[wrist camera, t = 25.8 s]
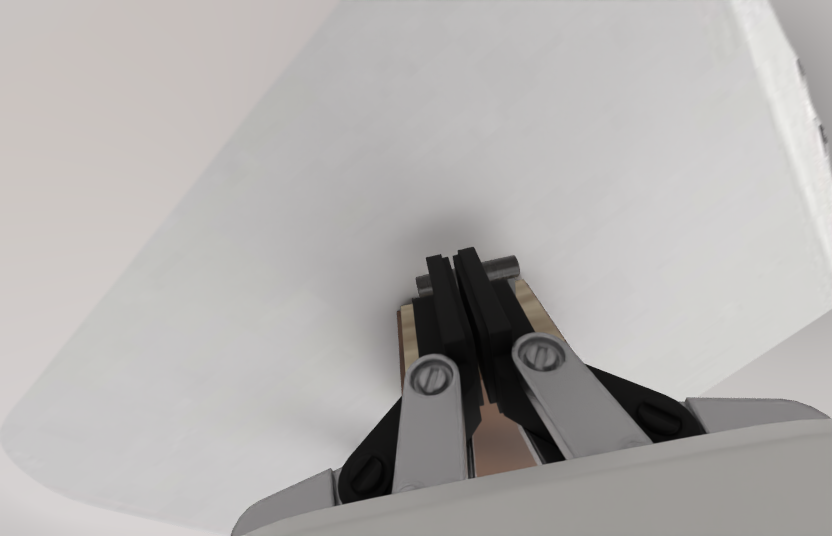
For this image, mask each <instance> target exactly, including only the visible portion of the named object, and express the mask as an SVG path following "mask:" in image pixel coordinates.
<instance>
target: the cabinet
mask: <svg viewBox="0 0 832 536" xmlns="http://www.w3.org/2000/svg"><path fill="white" fill-rule="evenodd" d="M526 284H527V283H526ZM527 285H528V284H527ZM528 287H529V286H528ZM529 288H530V287H529ZM530 290H531V288H530ZM531 291H532V290H531ZM532 292H533V291H532ZM533 294H534V293H533ZM534 295H535V294H534ZM535 297H536V296H535ZM536 298H537V297H536ZM537 300H538V299H537ZM538 301H539V300H538ZM539 303H540V302H539ZM540 304H541V303H540ZM541 306H542V305H541ZM542 307H543V306H542ZM543 309H544V308H543ZM544 310H545V309H544ZM545 312H546V311H545ZM546 313H547V312H546ZM547 315H548V314H547ZM548 316H549V315H548ZM549 318H550V317H549ZM550 319H551V318H550ZM551 321H552V320H551ZM552 322H553V321H552ZM397 323H398V340H399V356H400V373H401V388H402V389H401V390H402V395H403V387H404V378H405V374H406V372H405V359H404V346H403V333H402V320H401V311H397ZM553 324H554V322H553ZM554 325H555V324H554ZM555 327H556V325H555ZM556 328H557V327H556ZM557 330H558V328H557ZM558 331H559V330H558ZM559 333H560V331H559ZM560 334H561V333H560ZM561 336H562V334H561ZM562 337H563V336H562ZM563 339H564V337H563ZM564 342H565V343H566V344H567V345H568V343H567V342H566V340H565V339H564ZM568 346H569V345H568ZM569 347H570V346H569ZM479 374H480V372H479ZM480 380H481V386H482V392H483V398H484V406H480V412H481V418H482V421H481V423H480V424H479V426H478V428H477V429H476V431H475V432H474V434H473V439H474V449H475V461H476V474H477V477H483V476H488V475H493V474H498V473H503V472H508V471H514V470H519V469H524V468H529V467H534V466H537V464H536V462H535V460H534V458H533V456H532V454H531V452H530V450H529V449H528V447H527V445H526V443H525V441H524V439H523V437H522V435H521V433H520V432H519V429H518V426H517V423H516V422H514V421H512V420H510V419H509V418H507V417H505V416H504V414H503V413H501V414H500V413H499V410H498V407H497V404H496V403H493V404H490V403H489V400H488V397H487V393H486V390H485V387H484V384H483V380H482V377H481V374H480Z"/></svg>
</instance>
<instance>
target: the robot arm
mask: <svg viewBox="0 0 832 536" xmlns="http://www.w3.org/2000/svg"><path fill="white" fill-rule="evenodd" d="M426 261H427V266H428V271H429V276H430V280H431V285H432V290H433V294H432V295H427V296H423V297H418V298H414V299H412V304H413V312H414V321H415V330H416V338H417V347H418V355H419V358H418V359H417V360H415V361H414V362H413V363H412V364H411V365H410V366H409V368H408V369H407V371H406V374H405V378H404V387H403V395H402V396H401V397H400V399H399V400H398V401H397V402H396V403H395V404H394V406H393V407H392V408H391V409H390V410H389V411H388V413H387V414H386V415H385V416H384V417H383V418H382V420H381V421H380V422H379V423H378V424H377V425H376V427H375V428H374V429H373V430H372V431H371V432H370V434H369V435H368V436H367V437H366V438H365V439H364V441H363V442H362V443H361V444H360V445H359V446H358V448H357V449H356V450H355V451H354V452H353V453H352V454H351V456H350V457H349V458H348V460H347V461H346V463H345V464H344V465H343V467H341V468H339V469H337V470H335V471H332V469H331V468H330V469H328V470H325V471H323V472H321V473H319V474H317V475H315V476H312V477H310V478H308V479H306V480H304V481H301V482H299V483H297V484H295V485H293V486H290V487H288V488H286V489H284V490H282V491H279V492H277V493H275V494H273V495H271V496H268V497H266V498H264V499H262V500H260V501H258V502H256V503H255V504H253V505H252V506H250V507H249V508H248V509H247V510H246V511H245V512H244V513H243V514H242V515H241V517H240V518H239V519H238V521H237V523H236V525H235V526H234V528H233V530H232V533H231V536H832V419H831V418H830V417H829V416H827V415H826V414H824V413H822V412H820V411H819V410H817V409H815V408H813V407H811V406H808V405H805V404H803V403H800V402H797V401H792V400H785V399H756V398H686V400H685V402H678V401H676V400H674V399H672V398H670V397H668V396H666V395H664V394H661V393H659V392H656V391H654V390H651V389H649V388H646V387H643V386H641V385H638V384H636V383H633V382H630V381H628V380H625V379H623V378H620V377H618V376H615V375H612V374H610V373H607V372H605V371H602V370H599V369H597V368H594V367H592V366H589V365H587V364H584V363H583V362H582V361H581V359H580V358H579V357H578V356H577V355H576V354H575V353H574V351H573V350H572V349H571V348H570V347H569V346H568V345H567V344H566V343H565V342H564V341H563V340H562V339H561V338H559V337H557V336H554V335H552V334H548V333H544V332H535V330H534V329H533V327H532V325H531V323H530V321H529V319H528V318H527V316H526V314H525V312H524V310H523V308H522V307H521V305H520V303H519V301H518V299H517V298H516V296H515V294H514V292H513V290H512V288H511V287H510V285H509V283H508V281H507V280H506V279H505V278H504V279H499V280H495V281H490V280H489V278H488V276H487V274H486V272H485V270H484V267H483V265H482V263H481V261H480V259H479V257H478V255H477V253H476V250H475V248H474V247H470V248H466V249H462V250H458V255H454V256H453V261H454V267H455V273H456V278H457V283H456V280H455V277H454V274H453V271H452V268H451V265H450V261H449V258H448V257H445V258H442V256H441V254H440V255H435V256H431V257H426ZM457 284H458V286H457ZM479 370H480V374H481V377H482V380H483V384H484V387H485V390H486V393H487V397H488V400H489V403H490V404H493V403H496V404H497V407H498V410H499V413H500V414H501V413H503V414H504V416H505V417H507V418H509V419H510V420H512V421H514V422H516V423H517V426H518V429H519V432H520V433H521V435H522V437H523V439H524V441H525V443H526V445H527V447H528V449H529V450H530V452H531V454H532V456H533V458H534V460H535V462H536V464H537V466H534V467H529V468H524V469H519V470H514V471H508V472H503V473H498V474H493V475H488V476H483V477H477V474H476V461H475V449H474V439H473V434H474V432H475V431H476V429H477V428H478V426H479V424H480V423H481V421H482V418H481V412H480V406H484V398H483V392H482V386H481V380H480V374H479Z"/></svg>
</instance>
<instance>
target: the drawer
mask: <svg viewBox="0 0 832 536" xmlns="http://www.w3.org/2000/svg"><path fill="white" fill-rule="evenodd" d="M481 263H482V265H483V267H484V270H485V272H486V274H487V276H488V278H489V280H490V281H495V280H499V279H504V278H505V279H506V280H507V281H508V283H509V285H510V287H511V288H512V290H513V292H514V294H515V296H516V298H517V299H518V301H519V303H520V305H521V307H522V308H523V310H524V312H525V314H526V316H527V318H528V319H529V321H530V323H531V325H532V327H533V329H534V330H535V332H544V333H548V334H552V335H554V336H557V337H559V338H561V339H562V340H563V341H564V339H563V337H562V336H561V334H560V333H559V331H558V330H557V328H556V327H555V325H554V324H553V322H552V321H551V319H550V318H549V316H548V315H547V313H546V312H545V310H544V309H543V307H542V306H541V304H540V303H539V301H538V300H537V298H536V297H535V295H534V294H533V292H532V291H531V290H530V288H529V287H528V285H527V284H526V282H525V281H524V279H521V280H517V281H515V277H517V276H519V274H520V269H519V264H518V261H517V259H516V257H515V256H514V255H512V256H508V257H503V258H499V259H494V260H490V261H485V262H481ZM452 271H453V274H454V277H455V280H456V283H457V278H456V273H455V268H454V269H452ZM416 284H417V288H418V293H419V296H420V297H423V296H427V295H432V294H433V290H432V285H431V280H430V276H429V274H427V275H423V276H419V277H416ZM457 286H458V284H457ZM401 320H402V333H403V346H404V359H405V372H406V371H407V369H408V368H409V366H410V365H411V364H412V363H413V362H414V361H415V360H417V359H418V358H419V355H418V347H417V338H416V330H415V321H414V312H413V304H408V305H404V306H401Z"/></svg>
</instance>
